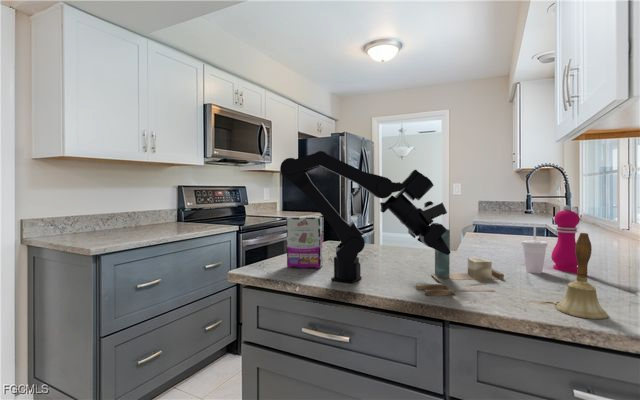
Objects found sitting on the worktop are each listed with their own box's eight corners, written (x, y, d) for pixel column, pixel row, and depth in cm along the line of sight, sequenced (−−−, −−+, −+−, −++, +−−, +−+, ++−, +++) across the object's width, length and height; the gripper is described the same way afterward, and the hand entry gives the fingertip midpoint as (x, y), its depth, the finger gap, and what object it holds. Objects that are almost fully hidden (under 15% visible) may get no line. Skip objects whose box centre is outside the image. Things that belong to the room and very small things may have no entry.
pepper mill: (571, 269, 102) (572, 204, 102) (587, 276, 95) (588, 205, 94) (545, 269, 103) (546, 204, 102) (560, 275, 96) (561, 205, 95)
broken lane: (421, 295, 79) (421, 291, 79) (414, 286, 86) (414, 282, 86) (498, 295, 78) (498, 291, 78) (484, 287, 85) (484, 283, 85)
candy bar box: (323, 265, 111) (322, 216, 110) (320, 269, 106) (320, 217, 105) (290, 264, 113) (289, 215, 112) (286, 267, 108) (285, 217, 107)
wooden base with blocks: (438, 283, 89) (438, 230, 88) (431, 276, 95) (431, 227, 95) (503, 283, 88) (504, 230, 88) (492, 277, 95) (492, 227, 94)
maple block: (474, 278, 89) (474, 261, 89) (467, 274, 94) (467, 258, 94) (491, 278, 89) (491, 261, 89) (484, 274, 94) (484, 258, 94)
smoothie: (523, 276, 95) (523, 227, 94) (519, 271, 101) (519, 225, 100) (549, 278, 92) (550, 228, 92) (544, 273, 98) (544, 225, 98)
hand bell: (585, 304, 72) (586, 230, 71) (619, 319, 64) (621, 235, 63) (546, 304, 72) (547, 230, 71) (575, 319, 64) (577, 236, 63)
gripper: (438, 191, 82) (483, 236, 82) (419, 191, 101) (456, 227, 101) (405, 223, 83) (450, 268, 83) (392, 217, 101) (429, 253, 101)
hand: (447, 252), depth 92 cm, fingers closed on wooden base with blocks, 3 cm apart
